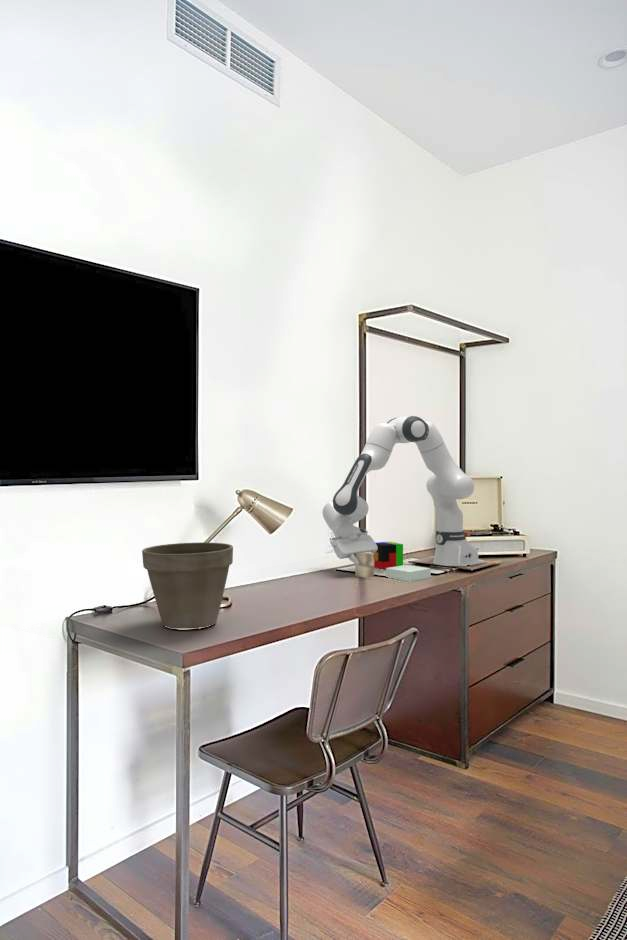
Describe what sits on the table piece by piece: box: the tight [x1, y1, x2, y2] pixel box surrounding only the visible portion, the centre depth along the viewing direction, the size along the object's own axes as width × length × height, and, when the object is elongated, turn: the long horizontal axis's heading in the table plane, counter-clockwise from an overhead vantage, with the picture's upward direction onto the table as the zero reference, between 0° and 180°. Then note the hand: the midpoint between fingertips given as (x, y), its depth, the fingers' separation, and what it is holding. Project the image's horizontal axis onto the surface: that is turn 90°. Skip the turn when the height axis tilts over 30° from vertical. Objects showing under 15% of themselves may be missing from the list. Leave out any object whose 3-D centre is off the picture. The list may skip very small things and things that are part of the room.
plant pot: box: [141, 542, 234, 628], centre depth 190 cm, size 25×25×22 cm
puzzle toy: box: [374, 541, 404, 570], centre depth 287 cm, size 10×10×10 cm
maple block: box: [354, 552, 375, 578], centre depth 266 cm, size 5×5×9 cm
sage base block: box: [385, 564, 432, 583], centre depth 262 cm, size 12×12×4 cm
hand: (365, 563), depth 266 cm, fingers open, 6 cm apart
